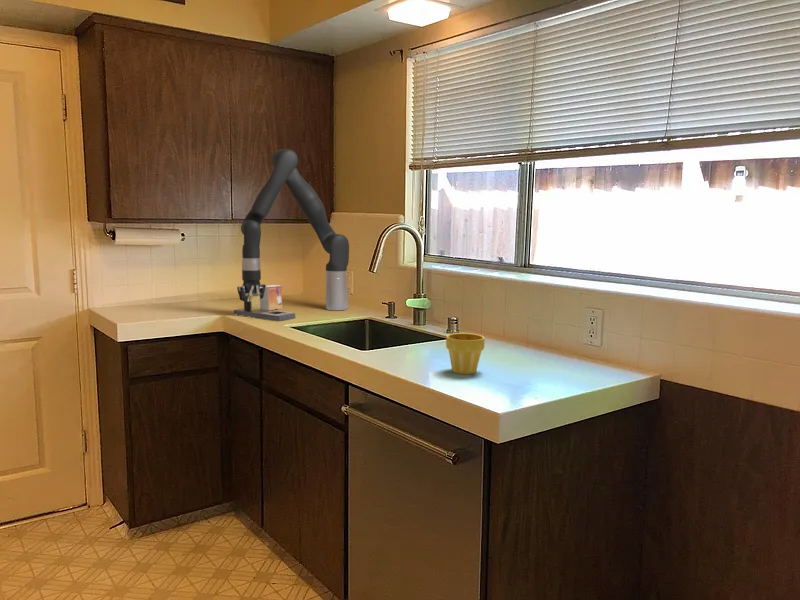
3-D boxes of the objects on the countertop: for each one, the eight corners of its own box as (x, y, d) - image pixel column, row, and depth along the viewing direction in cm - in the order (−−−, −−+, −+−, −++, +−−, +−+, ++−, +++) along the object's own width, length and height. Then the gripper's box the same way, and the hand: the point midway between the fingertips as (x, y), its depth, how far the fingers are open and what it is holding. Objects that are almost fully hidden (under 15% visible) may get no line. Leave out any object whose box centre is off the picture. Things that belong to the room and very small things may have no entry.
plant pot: (480, 377, 170) (481, 341, 169) (442, 374, 173) (442, 338, 172) (485, 368, 180) (487, 334, 179) (449, 365, 183) (450, 331, 182)
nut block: (252, 313, 271) (252, 294, 270) (259, 314, 268) (259, 295, 267) (244, 315, 267) (243, 295, 266) (251, 316, 265) (251, 296, 264)
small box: (268, 311, 279) (268, 286, 277) (260, 309, 282) (259, 285, 281) (282, 309, 285) (282, 285, 284) (274, 307, 289) (273, 284, 287)
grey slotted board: (250, 312, 275) (250, 306, 274) (295, 318, 260) (295, 312, 260) (233, 314, 267) (233, 309, 267) (279, 321, 253) (279, 315, 253)
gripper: (244, 270, 257) (245, 312, 259) (270, 268, 269) (271, 308, 271) (231, 269, 261) (232, 311, 264) (257, 267, 273) (258, 307, 275)
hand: (252, 309), depth 267 cm, fingers closed on nut block, 4 cm apart
